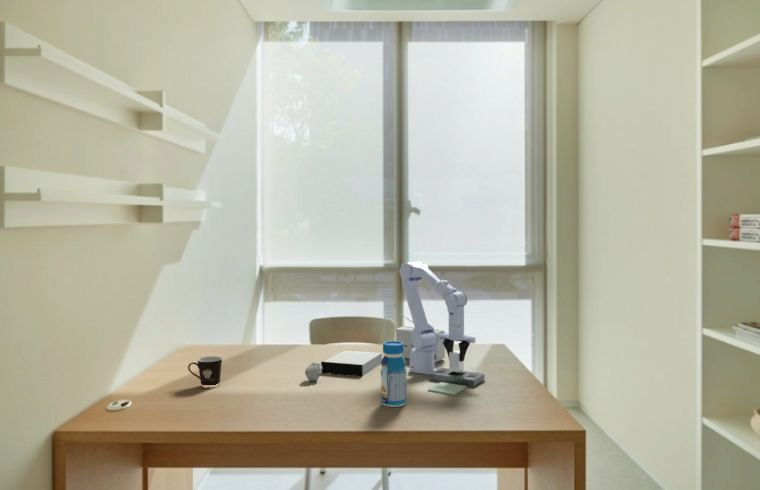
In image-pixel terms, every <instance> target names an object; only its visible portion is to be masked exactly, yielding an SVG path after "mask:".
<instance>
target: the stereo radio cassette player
mask: <svg viewBox="0 0 760 490" xmlns="http://www.w3.org/2000/svg"><path fill="white" fill-rule="evenodd" d="M398 315H401V316H402V317H404V318H405V319H406V320H407V321H409V322H411V323H412V324H414V323H413V320H411V319H410V318H408V317H406V316H405V315H403V314H401V313H400V312H398ZM414 328H415V326H407V325H404V326H400V327H399V326H398V327H397V328H395V333H396V341H398V342H402V343H403V345H404V352H403V354H402V356H403V357H404V359H407V360H410V352H411V350H412V349H413V348H414V347H413V345H412V335H411V332H412V331H413V329H414ZM434 330H435V332H436V334H437V335H438V334H440V333H441V334H446V332H445V330H443V329H437V328H434ZM423 333H424V332H423ZM443 341H444V339H439V342H438V344H437V346H436V349H434V364H436V363H437V362H441V361H443V360H444V358H446V348H445V346H444V345H443Z"/></svg>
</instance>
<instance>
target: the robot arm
mask: <svg viewBox="0 0 760 490" xmlns="http://www.w3.org/2000/svg"><path fill="white" fill-rule="evenodd" d="M398 271H399V275H400V279H401V282H402V288H403V291H404V295H405V298H406V302H407V306H408V308H409V311H410V315H411V316H410V317H411V319H412V322H413V323H412V324H413V325H414V326H413V327H415V328H414V329H413V331H412V332H411V335H412V345H413V347H414V348H413V349H412V350H411V352H410V359H409V370H408V372H410V373H416V374H423V375H428V376H429V373H431V372H433V371H435V370H437V369H438V368H436V367H435V363H434V349H436V346H437V344H438V342H439V339H444V341H443V345H444V346H445V352H446V353H447V356H448V358H449V352H451V351H453V350H454V346H455V345H454V344H455V342H459V343H458V348H459V351H460V361H461V362H462V361H465V358H466V353H467V350H468V348H469V346H471V345H470V344H476V337H475V336H470V335H466V334H465V306H466V305H467V303H468V296H467V294H466V293H465V292H464V291H462V290H457V288H455V287H453V286H452V284H450V283H449V281H448V280H444V279H439V277H437V276H436V274H434V272H432V270H431V269H430V268H429V265H428V264H427V263H425V262H424V261H422V260H420V261H410V262H409V261H407V262H402V264H401V265H400V268H399V270H398ZM422 279H423V280H424V281H425V282H427V283H428V284H430V285H431V286H433V288H434V292H435V294H437V295H439V297H441V299H443V300H444V303H445V305H446V307H447V308H446V309H447V312H448V333H445V334H441V333H440V334H438V335H437V334H436V332H435V330H434V329H435V328H434V326H433V325H431V324H429V323H428V320H427V316H426V313H425V309H424V306H423V303H422V299H421V297H420V291H419V289H418V285H419V283H421V281H422ZM423 332H424V333H423Z"/></svg>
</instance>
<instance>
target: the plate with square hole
mask: <svg viewBox="0 0 760 490" xmlns="http://www.w3.org/2000/svg"><path fill="white" fill-rule="evenodd" d="M436 369H437V370H435V371H433V372H431V373H429V375H428V381H432V382H438V383H440V382H443V383H449V384H455V385H461V386H466V387H468V388H475V387H476V386H478V385H480V384H481V383H483V382H484V381H485V373H479V372H473V371H467V370H463V371H461V372H453V371H449V368H445V367H440V368H436Z"/></svg>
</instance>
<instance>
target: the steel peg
mask: <svg viewBox="0 0 760 490" xmlns="http://www.w3.org/2000/svg"><path fill="white" fill-rule="evenodd" d="M464 361H465V360H464ZM464 361H462V362H461V361H460V350H455V349H453V351H451V352H449V357H448V362H449V365H448V366H449V367H448V369H449V371H453V372H461V371H465V370H464V368H465V367H464V366H465V365H464V364H465V363H464Z"/></svg>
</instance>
